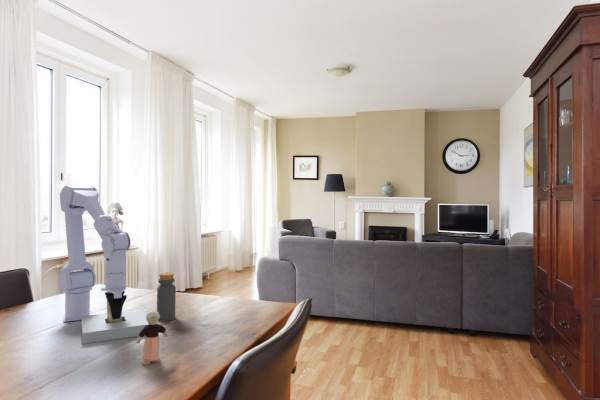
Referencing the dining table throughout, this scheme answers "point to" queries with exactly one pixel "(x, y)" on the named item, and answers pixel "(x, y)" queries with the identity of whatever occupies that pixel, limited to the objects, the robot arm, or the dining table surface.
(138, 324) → the socket block
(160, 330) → the grandmother figurine
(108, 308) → the peg
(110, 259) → the robot arm
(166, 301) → the bottle
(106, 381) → the dining table surface
